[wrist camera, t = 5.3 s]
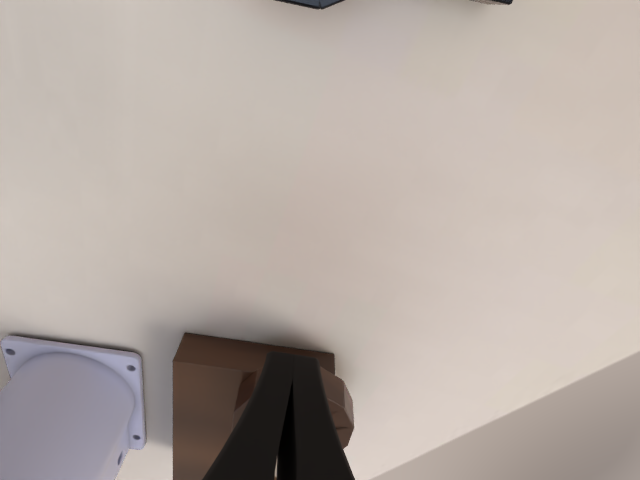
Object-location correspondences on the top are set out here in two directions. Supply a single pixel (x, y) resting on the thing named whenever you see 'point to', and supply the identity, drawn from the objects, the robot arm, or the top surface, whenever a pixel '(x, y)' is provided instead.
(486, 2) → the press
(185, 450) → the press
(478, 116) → the top surface
